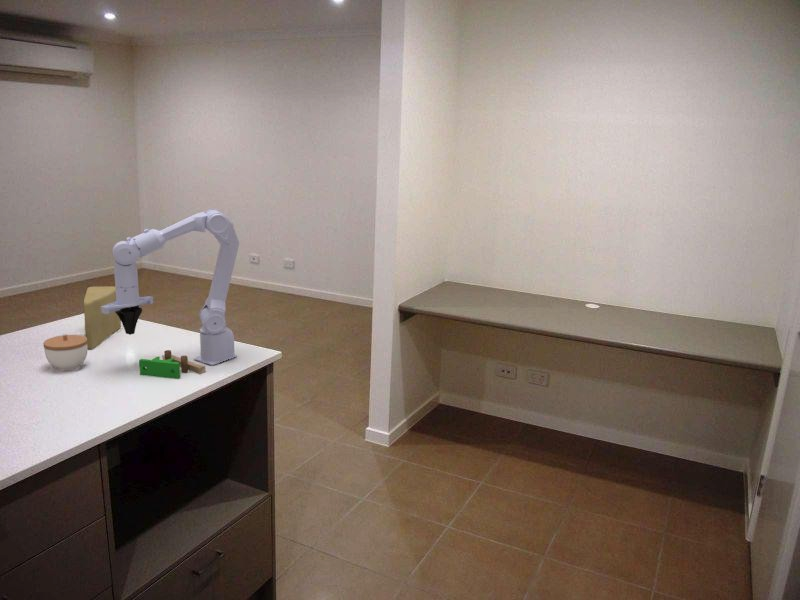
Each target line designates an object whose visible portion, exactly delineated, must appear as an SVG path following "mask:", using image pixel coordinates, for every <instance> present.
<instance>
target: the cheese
mask: <svg viewBox="0 0 800 600" xmlns="http://www.w3.org/2000/svg"><path fill="white" fill-rule="evenodd" d="M115 301H116V288H115V286H114V285H113V286H111V285H109V286H89V287H88V288H87V289H86V293H85V295H84V298H83V310H84V311H83V312H84V313H83V315H84V333H85V337H86V338H87V341H88V342H87V347H88V350H95V347H96V346H97V345H98V346H99V345H100V344H102V343H103V342H105V340H106V339H107V338H109V337H108V336H111V335H112V334H114V333H115V332H117V331H119V330H120V329H121V328H122V322H121V320H120V318H119V317H118V315H117V314H116V313H115V312H111V313H109V314H104V313H102V310H101V306H104V305H107V304H110V303H113V302H115ZM102 341H103V342H102ZM98 346H97V347H98ZM97 347H96V348H97Z"/></svg>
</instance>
